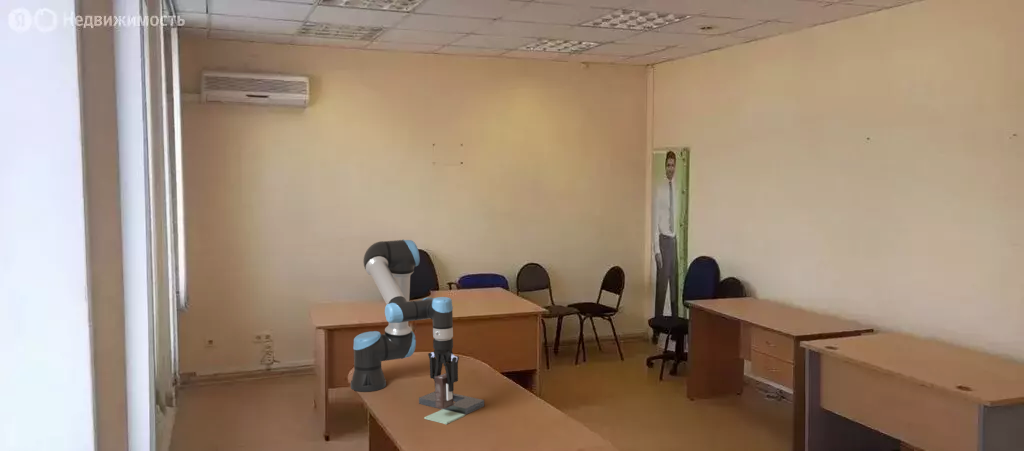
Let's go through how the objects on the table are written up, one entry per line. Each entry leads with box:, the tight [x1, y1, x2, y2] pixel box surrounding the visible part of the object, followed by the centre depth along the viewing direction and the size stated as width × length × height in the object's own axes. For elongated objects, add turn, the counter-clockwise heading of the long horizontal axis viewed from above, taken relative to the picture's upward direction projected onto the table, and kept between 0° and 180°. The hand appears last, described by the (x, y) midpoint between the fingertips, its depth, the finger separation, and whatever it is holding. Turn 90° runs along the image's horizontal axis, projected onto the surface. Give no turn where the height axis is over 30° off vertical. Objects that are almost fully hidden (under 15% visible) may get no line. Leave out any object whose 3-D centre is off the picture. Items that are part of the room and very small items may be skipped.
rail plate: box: [418, 391, 485, 416], centre depth 300 cm, size 24×12×2 cm, turn 55°
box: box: [434, 372, 455, 410], centre depth 285 cm, size 6×4×12 cm
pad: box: [423, 409, 466, 425], centre depth 286 cm, size 11×11×1 cm
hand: (444, 398), depth 286 cm, fingers closed on box, 4 cm apart
